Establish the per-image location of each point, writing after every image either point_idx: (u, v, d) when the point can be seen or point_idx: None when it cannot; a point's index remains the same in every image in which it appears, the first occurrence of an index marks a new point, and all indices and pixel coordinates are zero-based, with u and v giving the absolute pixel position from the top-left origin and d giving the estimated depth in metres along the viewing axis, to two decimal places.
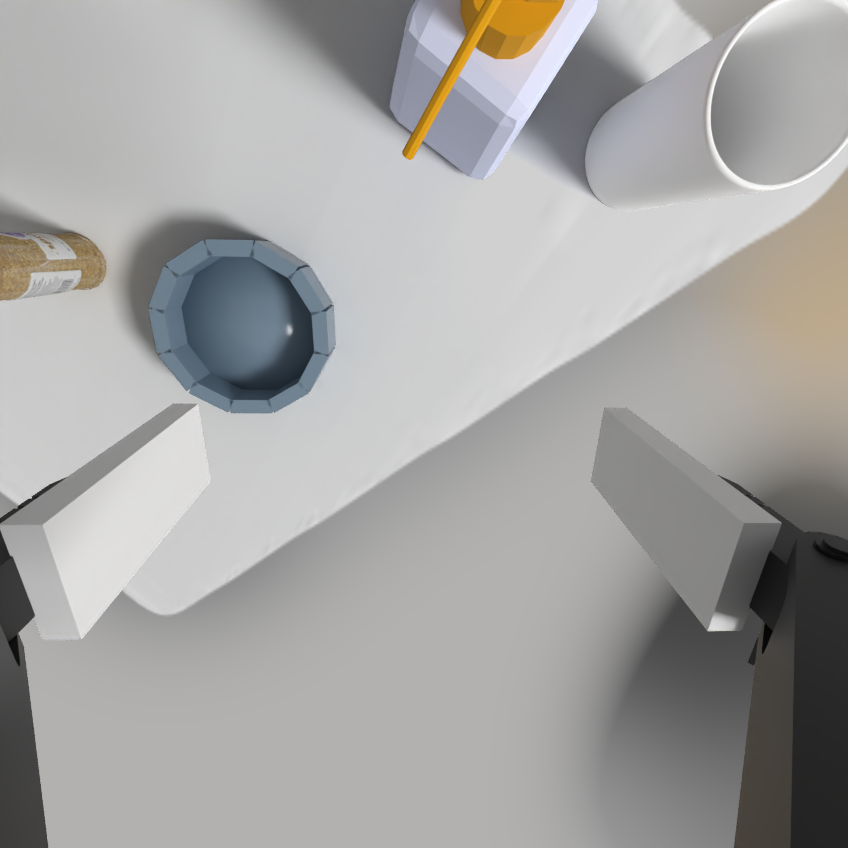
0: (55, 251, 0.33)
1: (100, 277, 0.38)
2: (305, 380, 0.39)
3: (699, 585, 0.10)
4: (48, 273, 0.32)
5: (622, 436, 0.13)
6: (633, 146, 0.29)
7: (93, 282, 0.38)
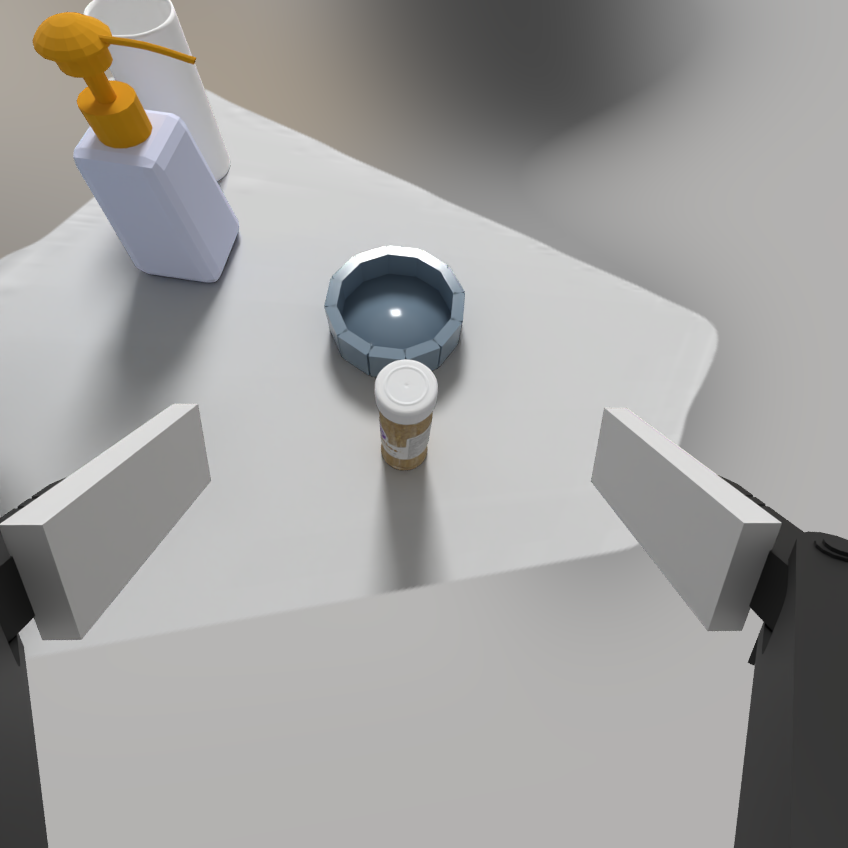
0: None
1: None
2: (412, 253, 0.49)
3: (699, 585, 0.10)
4: None
5: (622, 436, 0.13)
6: (183, 115, 0.49)
7: None
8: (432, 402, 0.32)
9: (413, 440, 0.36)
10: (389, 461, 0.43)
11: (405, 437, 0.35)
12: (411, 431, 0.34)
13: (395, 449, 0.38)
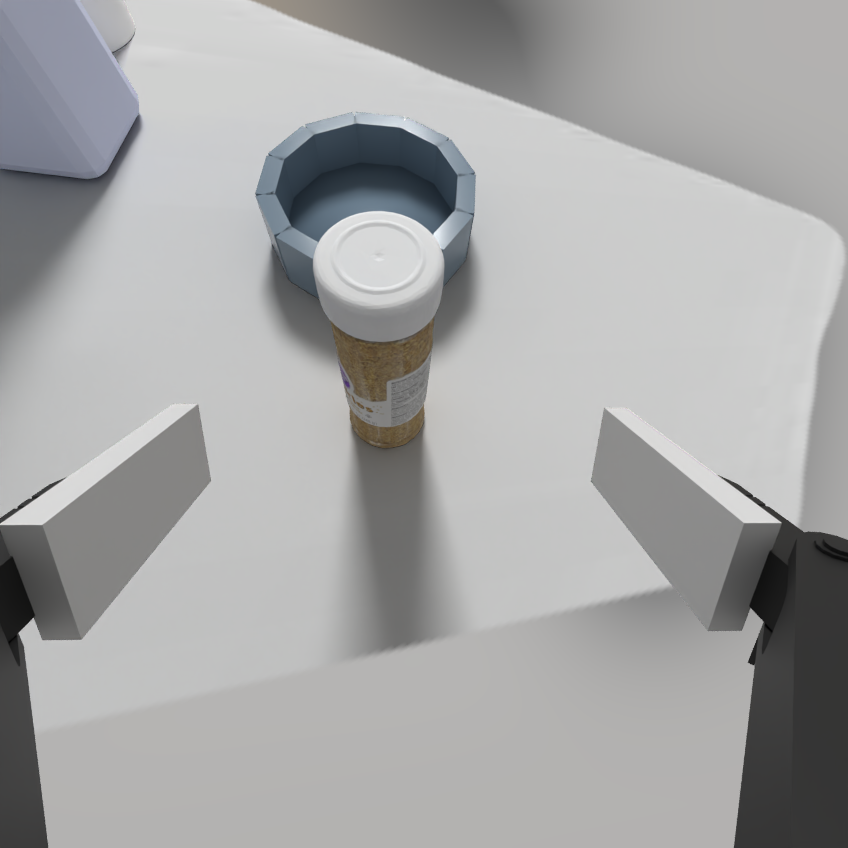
0: None
1: None
2: (393, 122, 0.32)
3: (699, 585, 0.10)
4: None
5: (622, 436, 0.13)
6: None
7: None
8: (434, 288, 0.15)
9: (398, 384, 0.20)
10: (363, 433, 0.26)
11: (383, 377, 0.19)
12: (394, 361, 0.18)
13: (368, 407, 0.22)
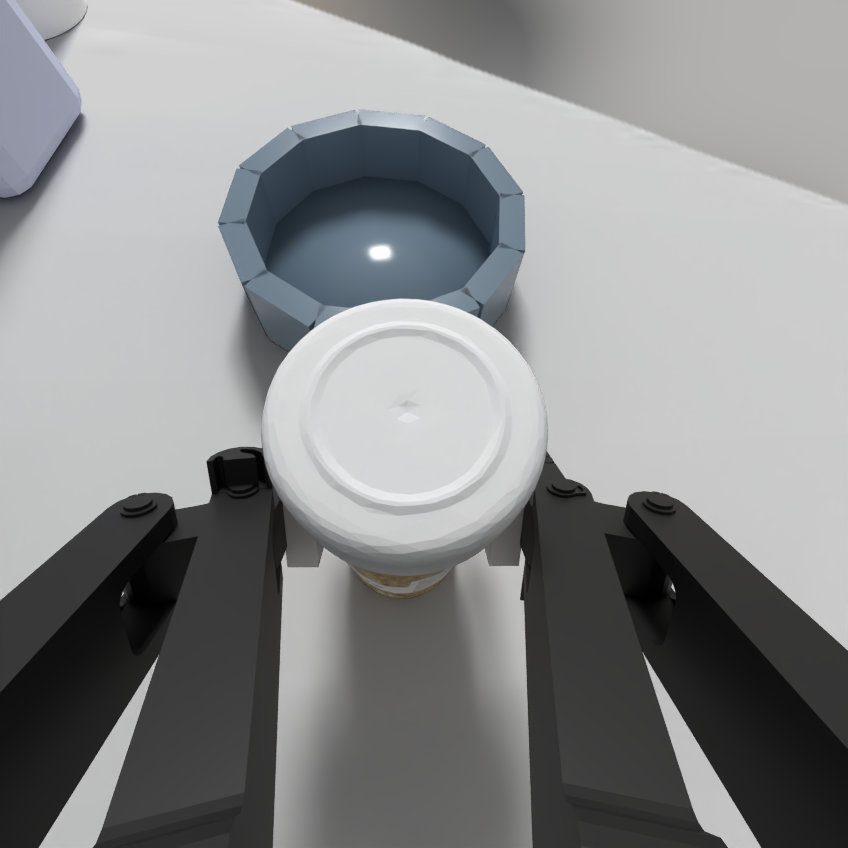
0: None
1: None
2: (410, 123, 0.24)
3: None
4: None
5: None
6: None
7: None
8: (532, 487, 0.07)
9: (431, 578, 0.11)
10: None
11: (404, 579, 0.10)
12: None
13: (377, 585, 0.13)
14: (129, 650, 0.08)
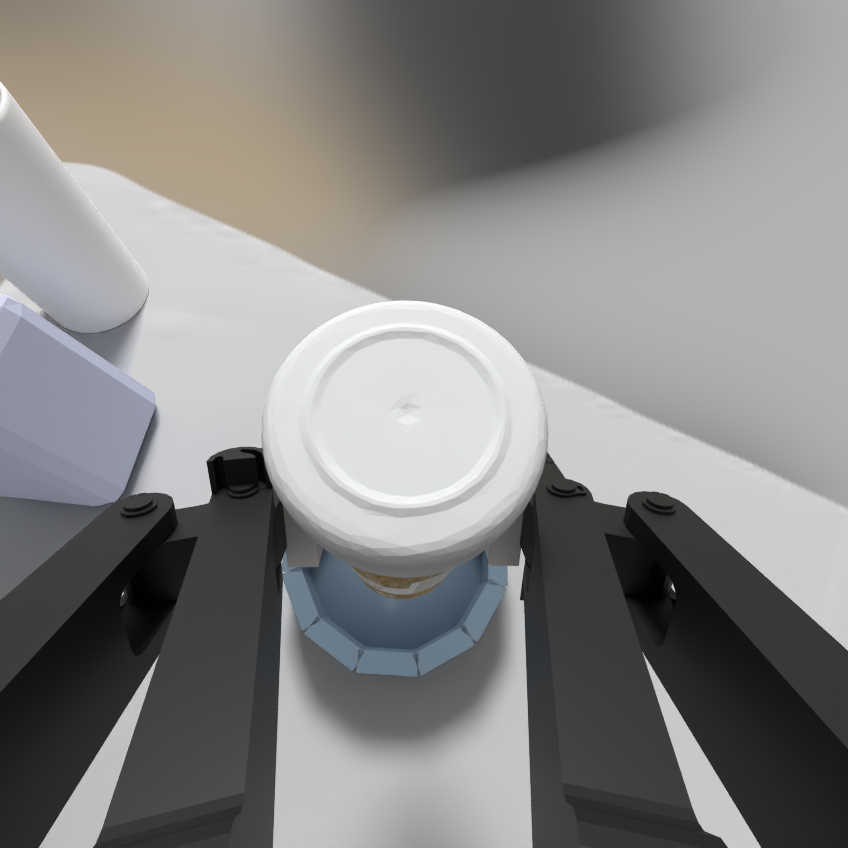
0: None
1: None
2: None
3: None
4: None
5: None
6: (51, 251, 0.31)
7: None
8: (532, 489, 0.07)
9: (432, 579, 0.11)
10: None
11: (405, 581, 0.10)
12: None
13: (377, 586, 0.13)
14: (129, 650, 0.08)
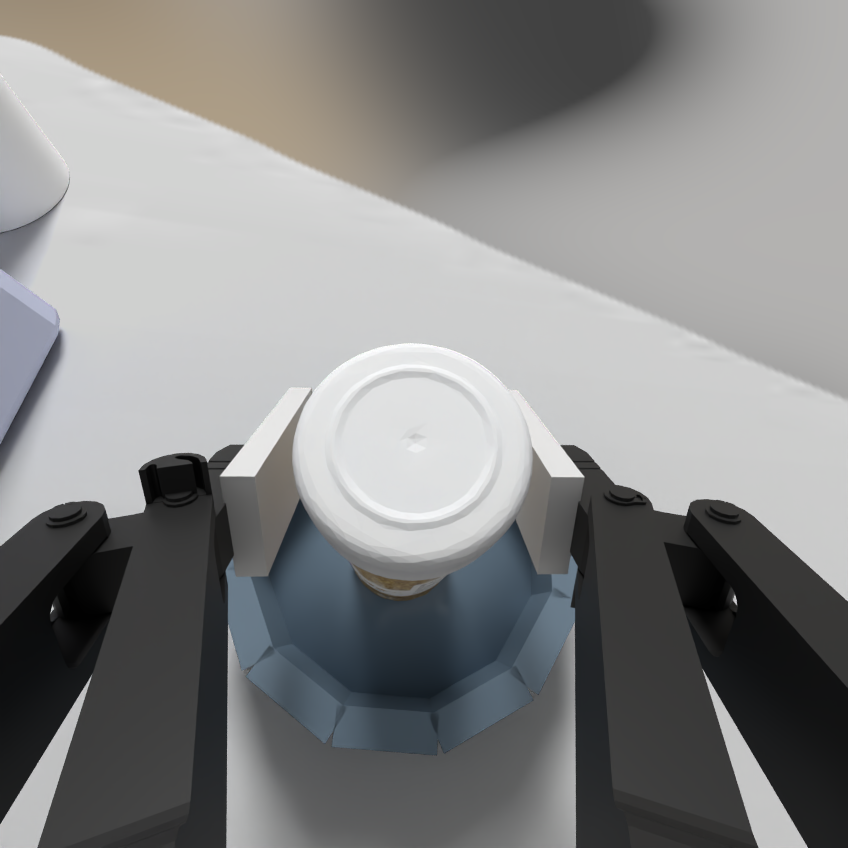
0: None
1: None
2: None
3: (534, 536, 0.11)
4: None
5: None
6: None
7: None
8: (519, 506, 0.08)
9: (432, 582, 0.12)
10: (368, 585, 0.19)
11: (408, 583, 0.12)
12: None
13: (381, 589, 0.14)
14: (63, 663, 0.07)
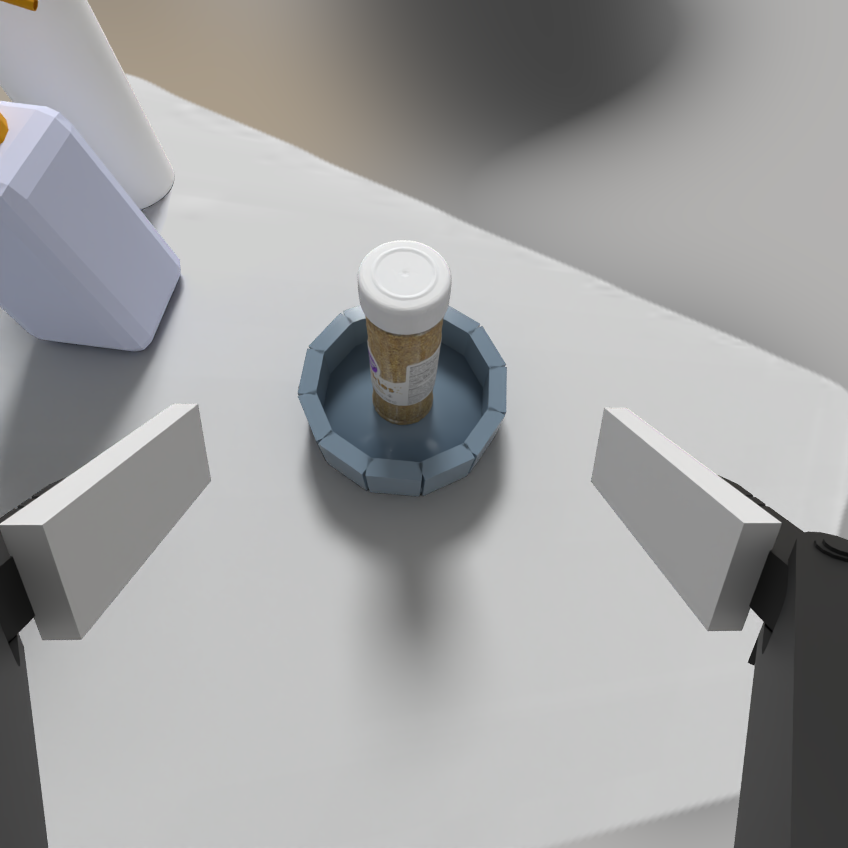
0: None
1: None
2: None
3: (699, 585, 0.10)
4: None
5: (622, 436, 0.13)
6: (90, 112, 0.34)
7: None
8: (444, 296, 0.21)
9: (415, 369, 0.26)
10: (383, 412, 0.32)
11: (403, 363, 0.25)
12: (413, 350, 0.24)
13: (390, 388, 0.28)
14: None
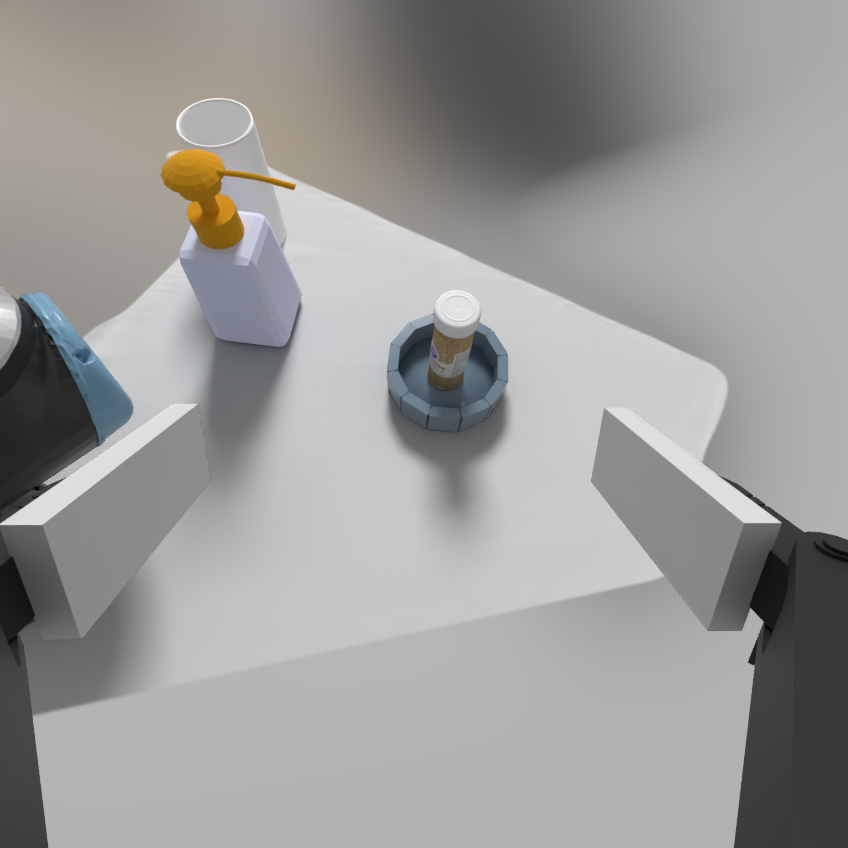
0: None
1: None
2: None
3: (699, 585, 0.10)
4: None
5: (622, 436, 0.13)
6: (254, 201, 0.56)
7: None
8: (477, 319, 0.43)
9: (459, 356, 0.48)
10: (435, 383, 0.54)
11: (453, 353, 0.47)
12: (459, 346, 0.46)
13: (443, 367, 0.50)
14: None
